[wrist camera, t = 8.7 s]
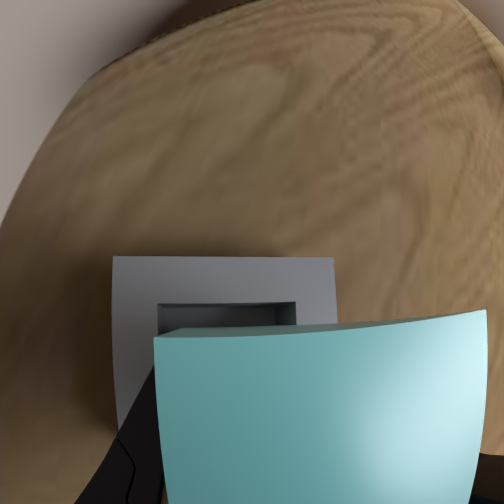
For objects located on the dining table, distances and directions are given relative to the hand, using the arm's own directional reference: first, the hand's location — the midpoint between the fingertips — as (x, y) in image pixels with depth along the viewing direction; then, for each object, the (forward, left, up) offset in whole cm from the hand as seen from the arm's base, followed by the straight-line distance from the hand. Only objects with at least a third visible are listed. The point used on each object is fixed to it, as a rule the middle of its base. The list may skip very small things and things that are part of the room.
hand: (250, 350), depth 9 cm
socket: (-1, +1, -8) cm, 9 cm away
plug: (-1, +1, -7) cm, 7 cm away
